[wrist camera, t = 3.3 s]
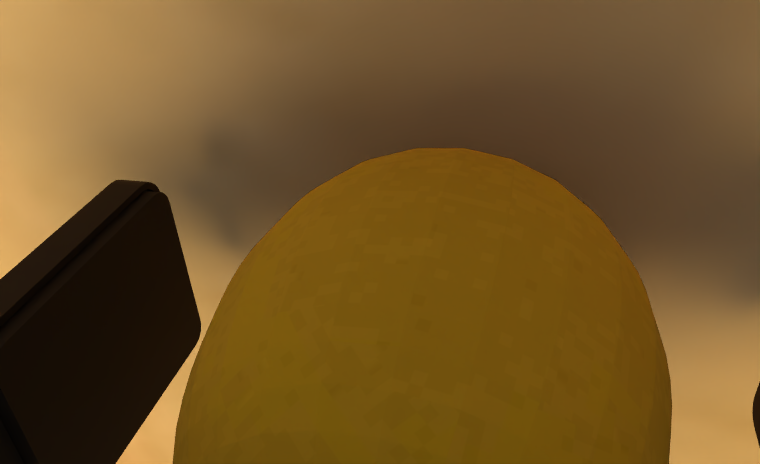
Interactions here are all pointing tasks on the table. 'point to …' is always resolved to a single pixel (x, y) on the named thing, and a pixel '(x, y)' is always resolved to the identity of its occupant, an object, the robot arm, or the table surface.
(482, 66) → the table surface
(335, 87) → the table surface
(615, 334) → the lemon
